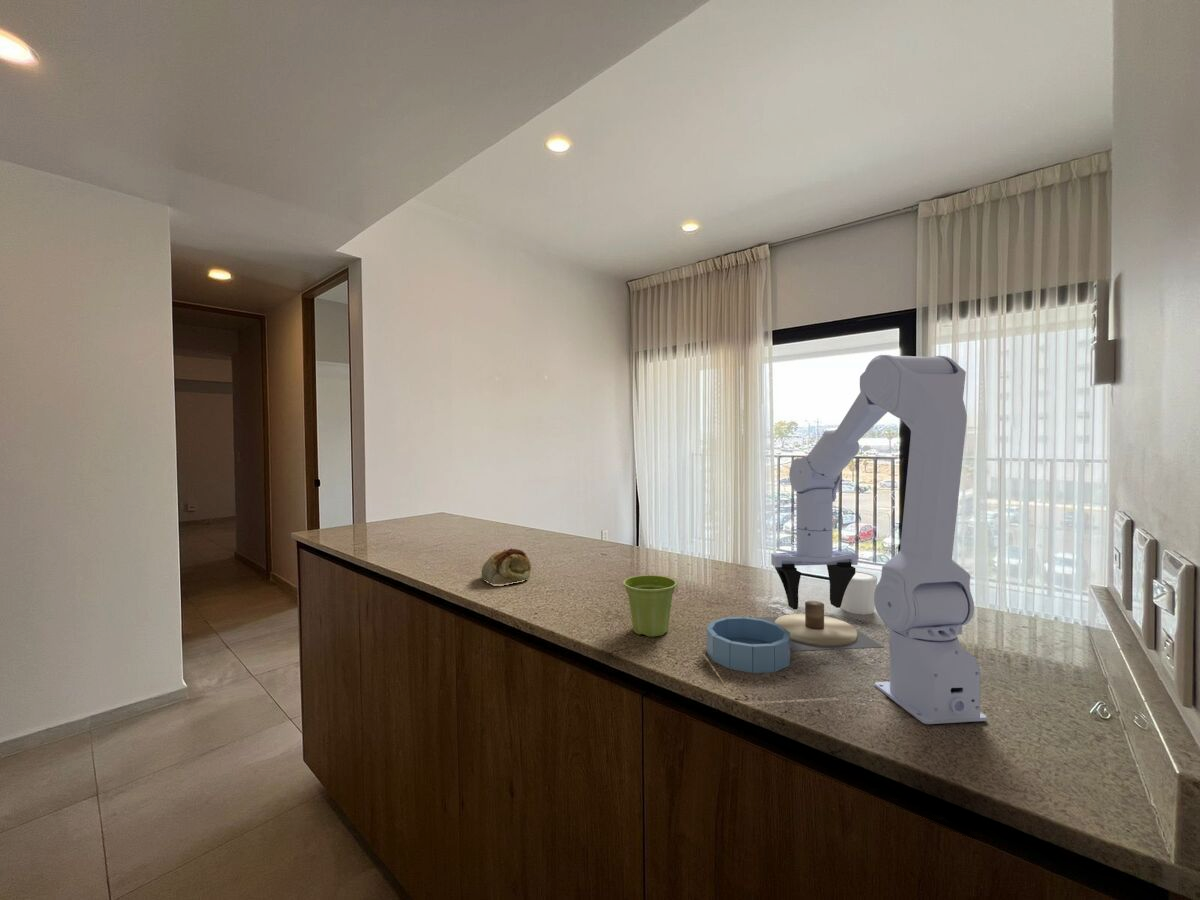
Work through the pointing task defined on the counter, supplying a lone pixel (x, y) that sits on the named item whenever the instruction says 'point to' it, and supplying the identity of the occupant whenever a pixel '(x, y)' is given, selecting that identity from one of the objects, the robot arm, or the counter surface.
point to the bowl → (748, 644)
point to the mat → (860, 642)
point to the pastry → (506, 567)
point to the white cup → (860, 594)
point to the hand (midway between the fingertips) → (814, 606)
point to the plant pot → (650, 603)
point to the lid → (817, 627)
